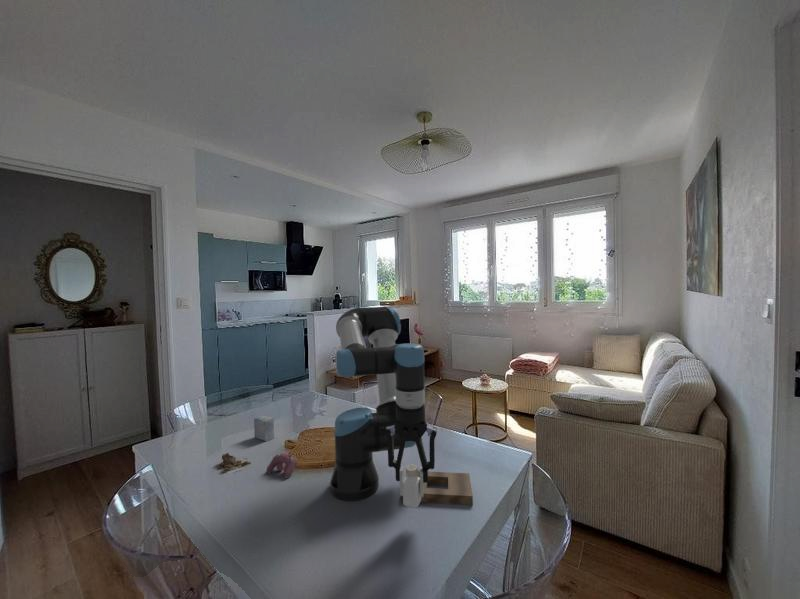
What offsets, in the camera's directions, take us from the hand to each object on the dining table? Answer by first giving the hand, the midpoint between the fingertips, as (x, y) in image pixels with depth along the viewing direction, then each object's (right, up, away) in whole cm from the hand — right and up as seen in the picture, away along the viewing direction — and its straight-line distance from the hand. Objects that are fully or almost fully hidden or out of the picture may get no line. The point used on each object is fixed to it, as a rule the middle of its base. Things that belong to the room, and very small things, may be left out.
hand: (412, 492), depth 85 cm
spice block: (+8, -8, +15) cm, 19 cm away
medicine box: (-62, -10, +56) cm, 84 cm away
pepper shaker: (0, -3, 0) cm, 3 cm away
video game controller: (-44, -9, +27) cm, 52 cm away
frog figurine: (-64, -10, +33) cm, 73 cm away
